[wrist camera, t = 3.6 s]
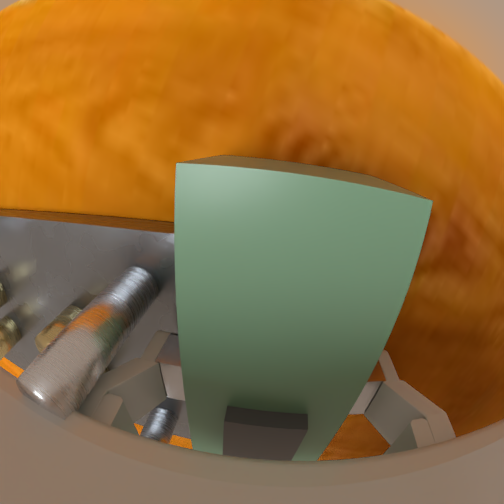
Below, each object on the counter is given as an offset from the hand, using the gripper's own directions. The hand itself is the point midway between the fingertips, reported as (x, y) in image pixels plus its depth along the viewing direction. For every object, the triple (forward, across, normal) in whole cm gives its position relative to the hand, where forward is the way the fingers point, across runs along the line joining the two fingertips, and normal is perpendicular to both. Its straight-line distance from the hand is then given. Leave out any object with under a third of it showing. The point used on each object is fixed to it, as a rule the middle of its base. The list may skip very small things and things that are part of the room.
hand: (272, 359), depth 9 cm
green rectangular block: (+2, 0, 0) cm, 2 cm away
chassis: (+2, +13, +2) cm, 13 cm away
